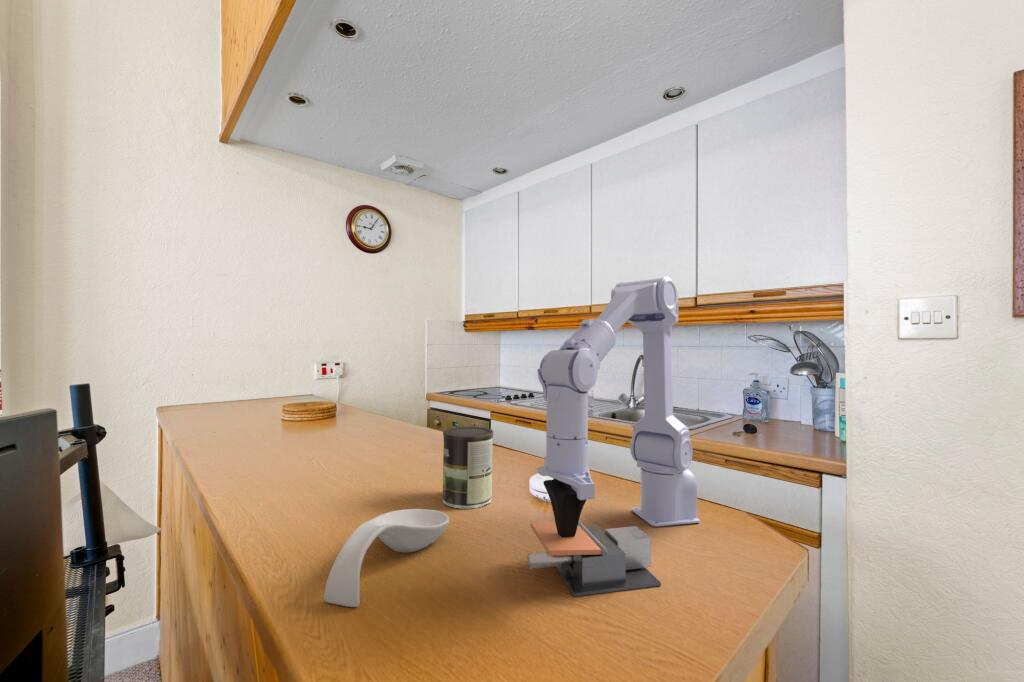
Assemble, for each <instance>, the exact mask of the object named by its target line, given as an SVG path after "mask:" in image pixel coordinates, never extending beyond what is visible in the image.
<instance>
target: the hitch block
mask: <svg viewBox="0 0 1024 682" xmlns="http://www.w3.org/2000/svg"><path fill="white" fill-rule="evenodd" d="M585 527H586V528H587V529H588V530H589V531H590V532H591V533H592V534H593V535H594V537H595V538H596V539H597V540H598V541H599V542H600V543H601V544H602V545H603V546H604V547H605V548H606V549H607V550H608V554H607V555H606V556H603V555H602V554H592V555H573V564H571V565H561V566H554V567H555V569H556V571H557V572H558V574H559V576H560V577H561V579H562V580H563V582H564V583H565V585H566V586H567V588H568V590H569V591H570V593H571V595H572V596H573V597H574V598H575V597H583V596H589V595H599V594H605V593H613V592H615V593H616V592H623V591H630V590H639V589H645V588H646V589H647V588H652V587H653V588H654V587H661V586H662V584H661V581H660V580H659V579H658V578H657V577H655V575H653V574H652V573H651V571H649V570H648V568H638V569H629V570H626V553H624V552H623V551H622V550H621V549H620V548H619V547H618V546H617V545H616V544H615V543H614V542H613V541H612V540H611V539H610V538H609V537H608V536H607V535H606V534H605V531H603V530H602V529H601V528H600V527H599V526H598V525H589V526H585Z"/></svg>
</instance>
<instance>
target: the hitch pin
mask: <svg viewBox="0 0 1024 682" xmlns="http://www.w3.org/2000/svg"><path fill="white" fill-rule="evenodd" d="M604 533H605V534H606V535H607V536H608V537H609V538H610V539H611V540H612V541H613V542H614V543H615V544H616V545H617V546H618V547H619V548H620V549H621V550H622V551H623V552H624V553H626V570H629V569H638V568H646V569H648V568H651V567H652V538H651V537H650V536H649V535H648V534H647V533H645V532H644V531H643V530H642V529H640V528H639V527H638V526H637V525H635V526H633V525H632V526H624V527H612V528H604ZM526 557H527V559H526V560H527V566H528V569H529V570H531V569H532V570H533V569H540V568H541V569H542V568H550V567H555V566H561V565H571V564H573V555H549V554H548V553H547V551H545V552H544V551H543V552H535V553H533V552H532V553H528V554H527V556H526Z"/></svg>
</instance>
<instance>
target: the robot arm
mask: <svg viewBox="0 0 1024 682" xmlns="http://www.w3.org/2000/svg"><path fill="white" fill-rule="evenodd" d="M610 291H611V292H610V301H608V303H607V305H605V308H603V310H602V312H601V313H600V314H599V315H598V317H597V318H589V319H583V320H582V321H581V322H580V323H579V326H580V327H578V328H577V329H576V330H575V332H573V334H572V335H571V336H570V337H569V338H567V339H566V340H565V341H564V342H563V344H562V345H561V347H560V348H559V349H551V350H550V351H548V352H547V353H546V354H545V355H544V356H542V359H541V361H540V364H539V368H537V378H538V381H539V383H540V385H541V386H542V398H543V399H544V401H545V402H546V421H545V422H546V425H545V426H546V432H545V433H546V439H545V440H546V444H545V445H546V449H545V451H546V455H544V466H540V467H537V473H538V474H539V475H540V476H543V477H550V478H552V479H545V480H543V483H542V484H543V486H544V488H545V490H546V492H547V495H548V497H549V500H550V503H551V508H552V512H553V517H554V522H555V524H556V528H557V532H558V534H559V535H560V537H574V536H575V534H576V530H577V526H578V522H579V521H580V518H581V514H582V511H583V508H584V506H585V504H586V502H587V500H595V499H596V483H595V482H594V481H593V480H592V478H591V472H590V468H589V467H588V465H589V463H588V462H589V461H588V459H589V454H588V453H589V447H588V445H589V443H588V442H589V437H588V436H589V434H588V433H589V391H590V390H591V389H592V388H593V387H595V385H596V382H597V379H598V372H599V370H600V368H601V363H602V361H603V360H604V359H605V357H606V356H607V355H608V354H609V353H610V351H611V350H612V348H614V346H615V344H616V340H617V339H616V332H617V331H619V330H620V329H621V328H622V327H623V326H624V325H625V323H629V324H630V325H631V326H634V327H637V328H638V329H639V330H640V331H641V333H642V343H643V344H642V349H643V350H642V353H643V354H642V355H643V399H644V400H643V402H644V403H643V404H644V405H643V411H644V416H643V417H642V418H640V419H639V420H638V421H636V422H635V423H634V424H633V426H632V435H631V439H630V445H629V446H630V447H629V448H630V449H629V451H630V454H631V458H632V459H633V461H634V462H636V467H638V468H640V507H637V506H636V507H631V510H630V511H632V512H633V513H634V514H635V515H637V516H638V517H640V518H641V519H642V520H643V521H644V522H647V524H649V525H651V526H652V527H666V526H675V525H677V526H678V525H686V524H696V523H700V522H701V520H700V518H698V485H697V484H698V483H697V481H696V477H695V476H694V473H693V472H692V471H691V470H690V469H689V468H690V466H691V463H692V459H693V453H694V452H693V445H692V441H691V436H690V428H689V427H688V426H687V425H686V424H684V423H683V422H681V421H680V420H679V419H678V418H676V416H674V404H673V403H674V402H673V395H674V394H673V393H674V392H673V354H672V353H673V352H672V351H673V350H672V349H673V348H672V345H673V344H672V327H673V326H675V325H676V324H677V323H679V312H680V311H679V292H678V291H679V290H678V289H677V287H676V284H675V282H674V281H673V280H672V279H671V277H669V276H662V277H660V278H659V277H658V278H652V279H645V280H643V279H642V280H635V281H628V282H623V281H622V282H618V283H616V285H615V286H614V288H612V289H611V290H610Z"/></svg>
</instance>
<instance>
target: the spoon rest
mask: <svg viewBox="0 0 1024 682" xmlns="http://www.w3.org/2000/svg"><path fill="white" fill-rule="evenodd" d="M449 523H450V517H449V515H447V514H446V513H444V512H443V511H440V510H435V509H428V508H427V509H426V508H425V509H424V508H408V509H398V510H392V511H389V512H385V513H382V514H379V515H377V516H376V517H374V518H372V519H368V520H366V521H364V522H363V523H362V524H360V525H359V526H357V527H356V529H354V531H353V532H352V533H351V534H350V535H349V537H348V538H347V540H346V541H345V543H344V544H343V545H342V547H341V548H340V550H339V552H338V554H337V555H336V558H335V560H334V562H333V564H332V567H331V568H330V571H329V574H328V577H327V581H326V583H325V587H324V592H323V593H324V594H323V601H324V602H325V603H327V604H331V605H338V606H343V607H348V608H357V607H359V606H360V604H361V603H360V602H361V601H360V600H361V599H360V597H361V596H360V579H361V578H360V577H361V576H360V575H361V568H362V564H363V561H364V559H365V555H366V553H367V551H368V549H369V548H370V546H371V545H372V543H373V542H374V541H375V539H376V538H377V537H378V538H379V540H380V541H381V542H382V543H383V544H384V545H386V546H388V547H389V548H390V549H391V550H393V551H395V552H397V553H412V552H413V553H414V552H417V551H421V550H423V549H425V548H427V547H428V546H429V545H431V544H433V543H434V542H436V541H437V540H438V539H439V538H440V537H441V536H442V535H443V534H444V532H445V531H446V529H447V527H448V525H449Z"/></svg>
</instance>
